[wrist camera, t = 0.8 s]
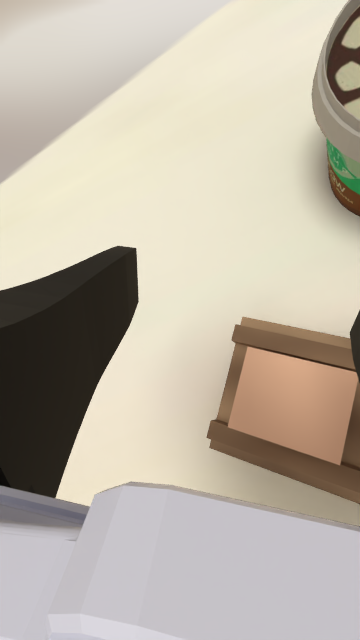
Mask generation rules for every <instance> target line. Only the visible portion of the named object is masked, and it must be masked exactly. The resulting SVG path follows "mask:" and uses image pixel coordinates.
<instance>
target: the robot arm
mask: <svg viewBox="0 0 360 640" xmlns="http://www.w3.org/2000/svg"><path fill="white" fill-rule="evenodd" d="M137 304H138V278H137V254H136V248H131V247H123V246H116V247H113V248H110V249H108V250H106V251H103V252H101V253H99V254H97V255H94V256H92V257H90V258H88V259H86V260H84V261H81V262H79V263H77V264H75V265H73V266H70V267H68V268H66V269H63V270H61V271H58V272H56V273H53V274H51V275H49V276H46V277H43V278H41V279H38V280H35V281H32V282H29V283H26V284H22V285H19V286H16V287H13V288H9V289H5V290H1V291H0V640H360V527H359V526H355V525H350V524H346V523H341V522H337V521H332V520H328V519H323V518H318V517H314V516H309V515H305V514H300V513H296V512H291V511H287V510H282V509H278V508H273V507H269V506H264V505H259V504H255V503H250V502H246V501H241V500H237V499H232V498H228V497H223V496H219V495H214V494H210V493H205V492H200V491H196V490H191V489H187V488H182V487H178V486H173V485H165V484H153V483H141V482H129V483H126V484H122V485H119V486H116V487H113V488H110V489H107V490H104V491H102V492H100V493H98V494H95V496H94V498H93V501H92V503H91V506H90V507H89V506H85V505H81V504H77V503H72V502H68V501H64V500H60V499H55V497H56V494H57V491H58V488H59V485H60V482H61V479H62V476H63V473H64V470H65V467H66V464H67V462H68V459H69V456H70V453H71V450H72V448H73V445H74V442H75V439H76V437H77V434H78V431H79V429H80V426H81V424H82V421H83V418H84V416H85V413H86V411H87V408H88V406H89V403H90V401H91V399H92V396H93V394H94V391H95V389H96V387H97V384H98V382H99V380H100V378H101V376H102V374H103V373H104V371H105V369H106V367H107V365H108V364H109V362H110V360H111V358H112V356H113V355H114V353H115V351H116V349H117V348H118V346H119V344H120V342H121V340H122V339H123V337H124V335H125V333H126V331H127V329H128V327H129V326H130V323H131V321H132V318H133V315H134V313H135V310H136V307H137ZM350 339H351V349H352V356H353V362H354V365H355V369H356V373H357V376H358V380H359V383H360V311H359V313H358V315H357V318H356V320H355V322H354V324H353V327H352V329H351V331H350Z"/></svg>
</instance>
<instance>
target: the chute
mask: <svg viewBox="0 0 360 640" xmlns="http://www.w3.org/2000/svg"><path fill="white" fill-rule="evenodd" d="M232 341H233V342H235V343H236V345H235V349H234V352H233V356H232V360H231V364H230V368H229V372H228V376H227V380H226V384H225V388H224V392H223V396H222V400H221V404H220V408H219V412H218V415H217V419H215V420H211V422H210V426H209V430H208V434H207V438H209V439H211V443H210V447H209V448H211V449H214V450H217V451H220V452H222V453H225V454H228V455H230V456H233V457H236V458H238V459H241V460H244V461H246V462H249V463H252V464H254V465H257V466H260V467H262V468H265V469H268V470H270V471H273V472H276V473H279V474H281V475H284V476H287V477H289V478H292V479H295V480H297V481H300V482H303V483H305V484H308V485H311V486H313V487H316V488H319V489H321V490H324V491H327V492H329V493H332V494H335V495H338V496H340V497H343V498H346V499H348V500H351V501H354V502H356V503H359V504H360V383H359V380H358V382H357V387H356V392H355V397H354V401H353V406H352V411H351V416H350V420H349V425H348V430H347V434H346V439H345V444H344V449H343V453H342V458H341V463H340V465H337V464H334V463H331V462H329V461H326V460H323V459H320V458H317V457H314V456H311V455H308V454H305V453H302V452H299V451H296V450H293V449H290V448H287V447H284V446H281V445H279V444H276V443H273V442H270V441H267V440H264V439H261V438H258V437H255V436H252V435H249V434H246V433H243V432H240V431H237V430H234V429H231V428H229V427H228V423H229V419H230V415H231V411H232V407H233V403H234V399H235V395H236V391H237V387H238V383H239V379H240V375H241V371H242V367H243V363H244V359H245V355H246V351H247V347H251V348H256V349H260V350H264V351H268V352H273V353H277V354H281V355H285V356H289V357H294V358H298V359H302V360H306V361H310V362H315V363H319V364H323V365H327V366H331V367H336V368H340V369H344V370H348V371H353V372H356V369H355V365H354V362H353V356H352V349H351V339H349V338H345V337H340V336H335V335H330V334H325V333H320V332H315V331H310V330H305V329H300V328H295V327H291V326H286V325H281V324H276V323H271V322H266V321H261V320H256V319H251V318H246V317H242V321H241V325H237V324H236V325H235V329H234V332H233V336H232Z"/></svg>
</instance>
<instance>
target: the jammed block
mask: <svg viewBox="0 0 360 640" xmlns="http://www.w3.org/2000/svg"><path fill="white" fill-rule="evenodd" d="M357 382H358V376H357V373H356V372H353V371H348V370H344V369H340V368H336V367H331V366H327V365H323V364H319V363H315V362H310V361H306V360H302V359H298V358H294V357H289V356H285V355H281V354H277V353H273V352H268V351H264V350H260V349H256V348H251V347H247V351H246V355H245V359H244V363H243V367H242V371H241V375H240V379H239V383H238V387H237V391H236V395H235V399H234V403H233V407H232V411H231V415H230V419H229V423H228V427H229V428H231V429H234V430H237V431H240V432H243V433H246V434H249V435H252V436H255V437H258V438H261V439H264V440H267V441H270V442H273V443H276V444H279V445H281V446H284V447H287V448H290V449H293V450H296V451H299V452H302V453H305V454H308V455H311V456H314V457H317V458H320V459H323V460H326V461H329V462H331V463H334V464H337V465H340V463H341V458H342V453H343V449H344V444H345V439H346V434H347V430H348V425H349V420H350V416H351V411H352V406H353V401H354V397H355V392H356V387H357Z"/></svg>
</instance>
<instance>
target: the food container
mask: <svg viewBox="0 0 360 640" xmlns="http://www.w3.org/2000/svg"><path fill="white" fill-rule="evenodd" d="M312 105H313V111H314V114H315V118H316V121H317V123H318V125H319V127H320V129H321V131H322V132H323V134H324V135H325V137H326V140H327V155H328V170H329V179H330V184H331V188H332V191H333V193H334V195H335V197H336V198H337V199H338V200H339V202H340V203H341V204H342V205H343V206H344V207H345V208H347V209H348V210H349V211H351V212H353V213H354V214H356V215H358V216H360V0H349V1H348V2H347V3H346V4H345V6H344V7H343V9H342V10H341V12H340V13H339V15H338V16H337V18H336V19H335V21H334V23H333V26H332V28H331V30H330V32H329V34H328V36H327V38H326V40H325V42H324V44H323V47H322V50H321V53H320V57H319V60H318V64H317V68H316V72H315V76H314V80H313V88H312Z"/></svg>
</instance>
